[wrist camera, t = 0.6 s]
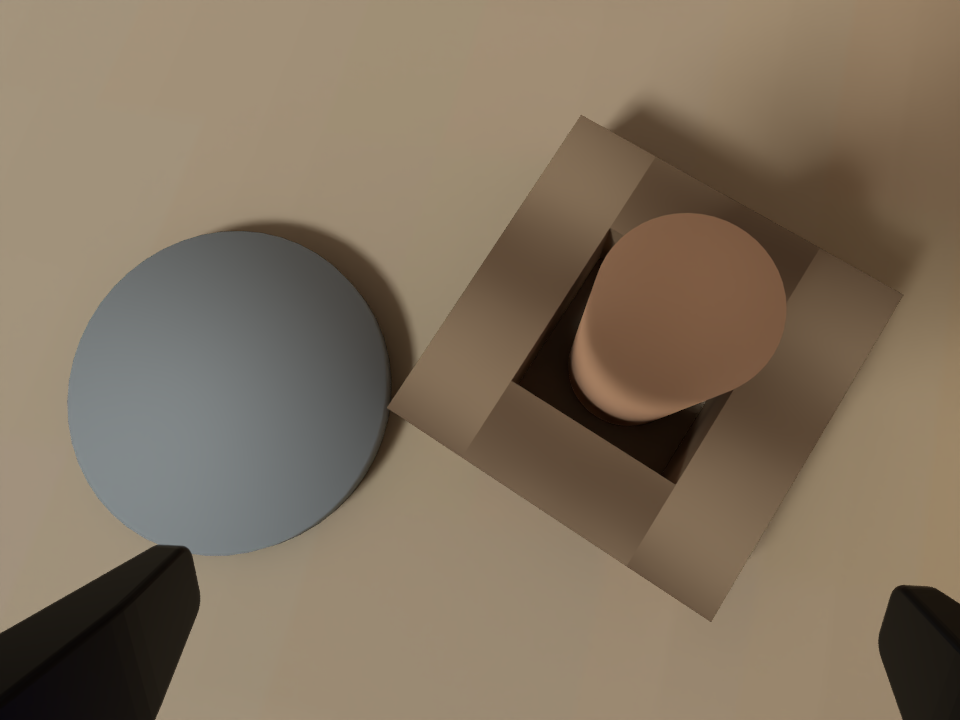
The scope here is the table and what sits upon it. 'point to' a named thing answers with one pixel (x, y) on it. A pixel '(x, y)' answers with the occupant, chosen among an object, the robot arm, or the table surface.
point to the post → (676, 319)
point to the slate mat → (228, 393)
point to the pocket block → (721, 422)
